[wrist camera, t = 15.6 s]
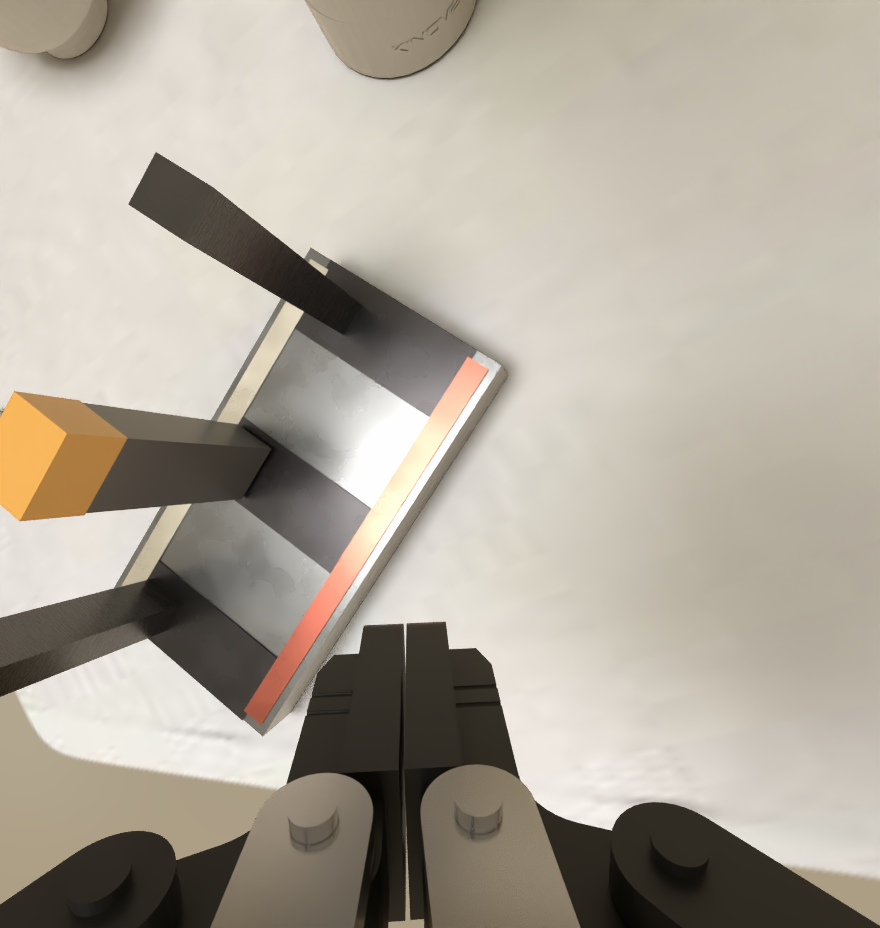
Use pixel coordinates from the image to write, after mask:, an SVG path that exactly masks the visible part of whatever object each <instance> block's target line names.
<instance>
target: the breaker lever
mask: <svg viewBox="0 0 880 928" xmlns="http://www.w3.org/2000/svg"><path fill="white" fill-rule="evenodd" d="M270 451H271V448H270V447H269V446H267V445H266V444H264V443H263V442H262V441H260V440H259V439H258V438H256V437H255V436H253V435H252V434H251V433H249V432H248V431H247V430H245V429H244V428H242V427H241V426H240V425H238V424H233V423H225V422H218V421H211V420H204V419H196V418H189V417H182V416H174V415H167V414H160V413H153V412H145V411H138V410H131V409H124V408H116V407H109V406H102V405H95V404H87V403H82V402H81V401H79V400H72V399H65V398H58V397H51V396H44V395H37V394H29V393H22V392H15V391H14V393H13V394H12V396H11V398H10V400H9V402H8V404H7V406H6V408H5V410H4V412H3V414H2V415H1V417H0V505H1V506H3V507H4V508H5V509H6V510H7V511H8V512H10V513H11V514H12V515H13V516H14V517H15V518H16V519H18V520H19V521H27V520H38V519H49V518H59V517H70V516H81V515H85V514H86V513H93V512H104V511H115V510H126V509H138V508H149V507H160V506H172V505H183V504H194V503H205V502H217V501H228V500H239V499H242V498H243V496H244V494H245V493H246V491H247V489H248V488H249V486H250V484H251V482H252V481H253V479H254V477H255V476H256V474H257V472H258V471H259V469H260V467H261V466H262V464H263V462H264V461H265V459H266V457H267V456H268V454H269V452H270Z"/></svg>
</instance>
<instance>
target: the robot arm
mask: <svg viewBox="0 0 880 928" xmlns="http://www.w3.org/2000/svg"><path fill="white" fill-rule="evenodd" d="M305 2H306V4H307V5H308V7H309V9H310V11H311V12H312V14H313V16H314V18H315V19H316V21H317V23H318V25H319V26H320V28H321V30H322V32H323V33H324V35H325V37H326V39H327V40H328V42H329V44H330V45H331V47H332V49H333V50H334V52H335V53H336V55H337V56H338V57H339V58H340V59H341V60H342V61H343V62H344V63H345V64H346V65H347V66H348V67H350V68H352V69H354V70H355V71H357V72H359V73H361V74H364V75H368V76H372V77H375V78H394V77H399V76H404V75H409V74H411V73H413V72H416V71H418V70H420V69H423V68H425V67H426V66H428V65H429V64H431V63H432V62H434V61H436V60H437V59H439V58H440V57H441V56H442V55H443V54H444V53H445V52H446V51H447V50H448V49H449V48H450V47H451V46H452V45H453V44H454V43H455V42H456V40H457V39H458V38H459V36H460V35H461V33H462V32H463V31H464V29H465V27H466V25H467V23H468V21H469V19H470V17H471V15H472V13H473V10H474V7H475V3H476V0H305ZM406 826H407V849H408V871H409V872H408V873H409V896H410V919H411V920H415V919H424V928H880V926H879V925H877V924H876V923H874V922H873V921H871V920H869V919H868V918H866V917H865V916H863V915H861V914H860V913H858V912H857V911H855V910H853V909H852V908H850V907H849V906H847V905H845V904H844V903H842V902H841V901H839V900H837V899H836V898H834V897H832V896H831V895H829V894H828V893H826V892H825V891H823V890H821V889H820V888H818V887H816V886H815V885H813V884H812V883H810V882H809V881H807V880H805V879H804V878H802V877H800V876H799V875H797V874H796V873H794V872H792V871H791V870H789V869H788V868H786V867H784V866H783V865H781V864H780V863H778V862H776V861H775V860H773V859H772V858H770V857H768V856H767V855H765V854H764V853H762V852H760V851H759V850H757V849H756V848H754V847H752V846H751V845H749V844H748V843H746V842H744V841H743V840H741V839H739V838H738V837H736V836H735V835H733V834H731V833H730V832H728V831H727V830H725V829H723V828H722V827H720V826H719V825H717V824H715V823H714V822H712V821H711V820H709V819H707V818H706V817H704V816H702V815H700V814H698V813H697V812H694V811H692V810H689V809H687V808H684V807H681V806H678V805H674V804H668V803H659V802H651V803H643V804H639V805H636V806H633V807H631V808H629V809H627V810H626V811H625V812H623V813H622V814H621V815H620V816H619V818H618V819H617V820H616V822H615V824H614V826H613V829H612V831H611V830H606V829H602V828H598V827H593V826H589V825H585V824H580V823H576V822H573V821H570V820H566V819H564V818H562V817H559V816H557V815H555V814H553V813H552V812H550V811H548V810H546V809H545V808H544V807H542V806H541V805H540V804H538V803H537V802H536V801H535V800H534V798H533V796H532V794H531V792H530V791H529V789H528V788H527V787H526V786H525V785H524V784H523V783H522V782H521V780H520V778H519V775H518V771H517V767H516V763H515V759H514V755H513V751H512V747H511V743H510V738H509V734H508V730H507V726H506V722H505V718H504V714H503V710H502V706H501V703H500V697H499V693H498V689H497V688H496V681H495V677H494V673H493V669H492V665H491V663H490V662H489V661H488V660H487V659H486V658H485V657H484V656H483V655H482V654H481V653H480V652H479V651H478V650H477V649H476V648H470V649H449V645H448V637H447V629H446V622H429V623H407V635H406V667H405V642H404V625H403V624H388V625H365V626H364V628H363V633H362V639H361V645H360V651H359V654H345V655H334V656H333V657H332V658H331V659H330V660H329V661H328V662H327V664H326V665H325V666H324V667H323V668H322V669H321V670H320V671H319V672H318V674H317V677H316V681H315V684H314V688H313V692H312V698H311V699H310V702H309V706H308V709H307V716H305V720H304V724H303V727H302V731H301V734H300V738H299V741H298V745H297V748H296V752H295V756H294V759H293V763H292V766H291V770H290V773H289V777H288V780H287V784H286V785H285V786H283V787H282V788H280V789H279V790H278V791H276V792H275V793H274V794H273V795H272V796H271V797H270V798H269V799H268V800H267V801H266V802H265V803H264V805H263V806H262V807H261V809H260V810H259V812H258V814H257V817H256V818H255V821H254V823H253V825H252V828H251V830H250V831H248V832H247V833H245V834H244V835H242V836H240V837H238V838H236V839H234V840H232V841H230V842H228V843H225V844H222V845H220V846H217V847H214V848H211V849H208V850H205V851H202V852H199V853H197V854H194V855H191V856H188V857H185V858H182V859H179V860H176V857H175V853H174V850H173V848H172V846H171V844H170V843H169V842H168V841H167V840H166V839H165V838H163V837H162V836H160V835H158V834H155V833H152V832H146V831H131V832H125V833H120V834H116V835H112V836H109V837H106V838H104V839H101V840H99V841H97V842H95V843H92V844H91V845H89V846H87V847H85V848H83V849H81V850H80V851H78V852H77V853H75V854H74V855H72V856H71V857H69V858H68V859H66V860H65V861H63V862H62V863H60V864H59V865H57V866H56V867H54V868H53V869H51V870H50V871H49V872H47V873H46V874H44V875H43V876H41V877H40V878H38V879H37V880H35V881H34V882H33V883H31V884H30V885H28V886H27V887H25V888H24V889H22V890H21V891H19V892H18V893H17V894H15V895H14V896H12V897H11V898H9V899H8V900H6V901H5V902H3V903H2V904H0V928H388V922H391V921H405V906H406V902H405V901H406Z"/></svg>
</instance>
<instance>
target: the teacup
mask: <svg viewBox="0 0 880 928" xmlns="http://www.w3.org/2000/svg"><path fill="white" fill-rule="evenodd" d="M107 9H108V7H107V0H0V46H1V47H3V48H6V49H8V50H12V51H16V52H21V53H41V52H45V51H46V52H48V53H49V54H50V55H52V56H55V57H57V58H62V59H68V58H73V57H76V56H79V55H81V54H83V53H84V52H86V51H87V50H88V49H89V48H90V47H91V46H92V45H93V44H94V43H95V42H96V40H97V38H98V37H99V35H100V34H101V32H102V29H103V27H104V24H105V21H106V17H107Z"/></svg>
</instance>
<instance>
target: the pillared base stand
mask: <svg viewBox="0 0 880 928" xmlns="http://www.w3.org/2000/svg"><path fill="white" fill-rule="evenodd" d="M129 205H130V206H132V207H133V208H135V209H136V210H138V211H139V212H141V213H142V214H144V215H145V216H147V217H148V218H150V219H152V220H153V221H155V222H156V223H158V224H159V225H161V226H162V227H164V228H165V229H167V230H168V231H170V232H171V233H173V234H174V235H176V236H178V237H179V238H181V239H182V240H184V241H185V242H187V243H189V244H190V245H192V246H194V247H195V248H197V249H199V250H201V251H202V252H204V253H206V254H207V255H209V256H211V257H212V258H214V259H216V260H217V261H219V262H221V263H222V264H224V265H226V266H228V267H229V268H231V269H233V270H234V271H236V272H238V273H239V274H241V275H243V276H244V277H246V278H248V279H249V280H251V281H253V282H255V283H256V284H258V285H260V286H261V287H263V288H265V289H266V290H268V291H270V292H271V293H273V294H275V295H277V296H278V297H280V298H281V300H280V302H279V304H278V305H277V307H276V309H275V310H274V312H273V314H272V316H271V317H270V319H269V321H268V323H267V324H266V326H265V328H264V329H263V331H262V333H261V335H260V336H259V338H258V340H257V342H256V343H255V345H254V347H253V349H252V350H251V352H250V354H249V355H248V357H247V359H246V361H245V362H244V364H243V366H242V368H241V369H240V371H239V373H238V374H237V376H236V378H235V380H234V381H233V383H232V385H231V387H230V388H229V390H228V392H227V394H226V395H225V397H224V399H223V400H222V402H221V404H220V406H219V407H218V409H217V411H216V413H215V414H214V416H213V418H212V419H211V421H218V422H225V423H233V424H238V425H240V426H241V427H242V428H244V429H245V430H247V431H248V432H249V433H251V434H252V435H253V436H255V437H256V438H258V439H259V440H260V441H262V442H263V443H264V444H266V445H267V446H269V447H270V448H271V451H270V452H269V454H268V456H267V457H266V459H265V461H264V462H263V464H262V466H261V467H260V469H259V471H258V472H257V474H256V476H255V477H254V479H253V481H252V482H251V484H250V486H249V488H248V489H247V491H246V493H245V494H244V496H243V498H242V499H239V500H228V501H217V502H205V503H194V504H183V505H172V506H161V508H160V510H159V511H158V513H157V515H156V516H155V518H154V520H153V522H152V523H151V525H150V527H149V529H148V530H147V532H146V534H145V535H144V537H143V539H142V541H141V542H140V544H139V546H138V548H137V549H136V551H135V553H134V555H133V556H132V558H131V560H130V561H129V563H128V565H127V567H126V568H125V570H124V572H123V574H122V575H121V577H120V579H119V580H118V582H117V584H116V586H115V587H114V589H110V590H106V591H103V592H99V593H95V594H91V595H87V596H83V597H79V598H76V599H72V600H68V601H64V602H60V603H56V604H52V605H48V606H45V607H41V608H37V609H33V610H29V611H25V612H21V613H18V614H14V615H10V616H6V617H2V618H0V697H1V696H3V695H6V694H8V693H11V692H14V691H16V690H19V689H21V688H24V687H26V686H29V685H31V684H34V683H36V682H39V681H41V680H44V679H46V678H49V677H51V676H54V675H56V674H59V673H61V672H64V671H66V670H69V669H71V668H74V667H76V666H79V665H82V664H84V663H87V662H89V661H92V660H94V659H97V658H99V657H102V656H104V655H107V654H109V653H112V652H114V651H117V650H119V649H122V648H124V647H127V646H129V645H132V644H134V643H137V642H139V641H142V640H144V639H147V638H148V639H149V640H150V641H152V642H153V643H154V644H155V645H156V646H157V647H159V648H160V649H161V650H162V651H163V652H164V653H165V654H167V655H168V656H169V657H170V658H171V659H172V660H173V661H175V662H176V663H177V664H178V665H179V666H180V667H182V668H183V669H184V670H185V671H186V672H187V673H188V674H190V675H191V676H192V677H193V678H194V679H195V680H196V681H198V682H199V683H200V684H201V685H202V686H203V687H205V688H206V689H207V690H208V691H209V692H210V693H211V694H213V695H214V696H215V697H216V698H217V699H218V700H219V701H221V702H222V703H223V704H224V705H225V706H226V707H228V708H229V709H230V710H231V711H232V712H233V713H234V714H236V715H237V716H238V717H239V718H240V719H241V720H245V721H246V722H247V723H248V724H249V725H250V726H251V727H253V728H254V729H255V730H256V731H257V732H258V733H259V734H261V735H262V736H264V735H265V734H266V733H267V732H268V731H270V730H271V729H272V728H273V727H274V726H275V725H277V724H278V723H279V722H280V721H281V720H282V719H284V718H285V717H286V716H287V715H288V714H289V713H290V712H291V711H292V710H293V708H294V707H295V705H296V703H297V702H298V700H299V699H300V697H301V696H302V694H303V693H304V691H305V689H306V688H307V686H308V685H309V683H310V682H311V680H312V679H313V677H314V676H315V674H316V672H317V671H318V669H319V668H320V666H321V665H322V663H323V662H324V660H325V659H326V657H327V655H328V654H329V652H330V651H331V649H332V648H333V646H334V645H335V643H336V642H337V640H338V638H339V637H340V635H341V634H342V632H343V631H344V629H345V628H346V626H347V625H348V623H349V621H350V620H351V618H352V617H353V615H354V614H355V612H356V611H357V609H358V607H359V606H360V604H361V603H362V601H363V600H364V598H365V597H366V595H367V594H368V592H369V590H370V589H371V587H372V586H373V584H374V583H375V581H376V580H377V578H378V577H379V575H380V573H381V572H382V570H383V569H384V567H385V566H386V564H387V563H388V561H389V560H390V558H391V556H392V555H393V553H394V552H395V550H396V549H397V547H398V546H399V544H400V542H401V541H402V539H403V538H404V536H405V535H406V533H407V532H408V530H409V529H410V527H411V525H412V524H413V522H414V521H415V519H416V518H417V516H418V515H419V513H420V512H421V510H422V508H423V507H424V505H425V504H426V502H427V501H428V499H429V498H430V496H431V495H432V493H433V491H434V490H435V488H436V487H437V485H438V484H439V482H440V481H441V479H442V478H443V476H444V474H445V473H446V471H447V470H448V468H449V467H450V465H451V464H452V462H453V460H454V459H455V457H456V456H457V454H458V453H459V451H460V450H461V448H462V447H463V445H464V443H465V442H466V440H467V439H468V437H469V436H470V434H471V433H472V431H473V430H474V428H475V426H476V425H477V423H478V422H479V420H480V419H481V417H482V416H483V414H484V413H485V411H486V409H487V408H488V406H489V405H490V403H491V402H492V400H493V399H494V397H495V396H496V394H497V392H498V391H499V389H500V388H501V386H502V385H503V383H504V382H505V380H506V378H507V377H508V375H507V373H506V372H505V370H504V369H503V367H502V366H501V365H500V364H498V363H497V362H495V361H493V360H492V359H490V358H489V357H487V356H485V355H484V354H482V353H481V352H479V351H477V350H476V349H474V348H473V347H471V346H470V345H468V344H466V343H465V342H463V341H461V340H460V339H458V338H457V337H455V336H453V335H452V334H450V333H449V332H447V331H445V330H444V329H442V328H440V327H439V326H437V325H436V324H434V323H432V322H431V321H429V320H427V319H426V318H424V317H423V316H421V315H419V314H418V313H416V312H414V311H413V310H411V309H410V308H408V307H406V306H405V305H403V304H402V303H400V302H398V301H397V300H395V299H393V298H392V297H390V296H389V295H387V294H385V293H384V292H382V291H380V290H379V289H377V288H376V287H374V286H372V285H371V284H369V283H368V282H366V281H364V280H363V279H361V278H359V277H358V276H356V275H355V274H353V273H351V272H350V271H348V270H346V269H345V268H343V267H342V266H340V265H338V264H337V263H335V262H333V261H332V260H330V259H328V258H327V257H325V256H323V255H322V254H320V253H319V252H317V251H315V250H314V249H312V248H310V250H309V252H308V253H307V255H306V257H305V259H303V258H302V257H301V256H299V255H298V254H297V253H296V252H294V251H293V250H292V249H290V248H289V247H288V246H287V245H285V244H284V243H283V242H282V241H280V240H279V239H278V238H277V237H275V236H274V235H273V234H271V233H270V232H269V231H268V230H266V229H265V228H264V227H263V226H261V225H260V224H259V223H258V222H256V221H255V220H254V219H252V218H251V217H250V216H249V215H247V214H246V213H245V212H244V211H242V210H241V209H240V208H239V207H237V206H236V205H235V204H233V203H232V202H231V201H230V200H228V199H227V198H226V197H225V196H223V195H222V194H221V193H220V192H218V191H217V190H216V189H214V188H213V187H212V186H210V185H208V184H207V183H205V182H204V181H202V180H200V179H199V178H197V177H195V176H194V175H192V174H191V173H189V172H187V171H186V170H184V169H183V168H181V167H179V166H178V165H176V164H174V163H173V162H171V161H170V160H168V159H166V158H165V157H163V156H161V155H160V154H158V153H157V152H156V153H155V155H154V157H153V159H152V160H151V162H150V164H149V166H148V168H147V170H146V172H145V174H144V176H143V178H142V179H141V181H140V183H139V185H138V187H137V189H136V191H135V193H134V195H133V197H132V198H131V200H130V202H129Z"/></svg>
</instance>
